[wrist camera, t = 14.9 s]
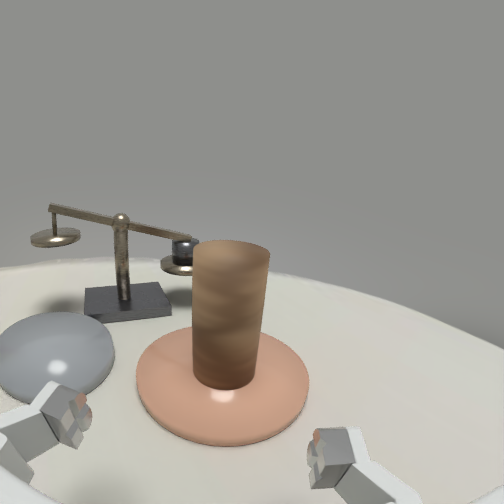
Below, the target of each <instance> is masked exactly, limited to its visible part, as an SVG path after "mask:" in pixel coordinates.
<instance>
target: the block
mask: <svg viewBox="0 0 504 504" xmlns="http://www.w3.org/2000/svg"><path fill="white" fill-rule="evenodd" d="M269 258H270V253H269V251H268V250H267V249H265V248H263V247H261V246H258V245H255V244H252V243H247V242H241V241H233V240H213V241H206V242H202V243H199V244H197V245H195V246H194V248H193V277H192V357H193V373H194V376H195V377H196V379H197V380H198V381H199V382H200V383H202V384H203V385H205V386H207V387H210V388H212V389H216V390H235V389H239V388H242V387H244V386H246V385H248V384H249V383H250V382H251V381H252V379H253V378H254V375H255V368H256V361H257V353H258V346H259V338H260V331H261V323H262V315H263V307H264V299H265V291H266V283H267V275H268V267H269Z"/></svg>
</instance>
